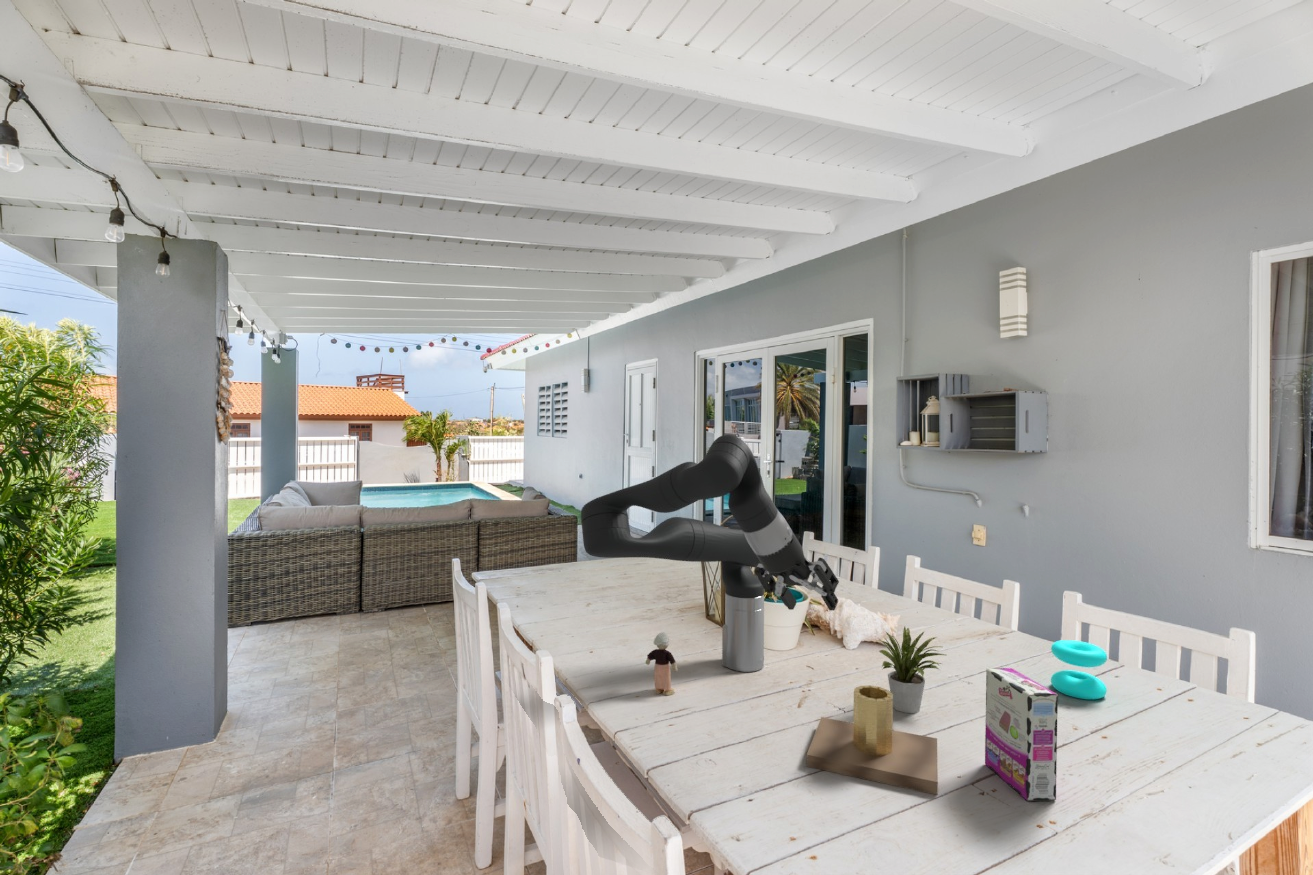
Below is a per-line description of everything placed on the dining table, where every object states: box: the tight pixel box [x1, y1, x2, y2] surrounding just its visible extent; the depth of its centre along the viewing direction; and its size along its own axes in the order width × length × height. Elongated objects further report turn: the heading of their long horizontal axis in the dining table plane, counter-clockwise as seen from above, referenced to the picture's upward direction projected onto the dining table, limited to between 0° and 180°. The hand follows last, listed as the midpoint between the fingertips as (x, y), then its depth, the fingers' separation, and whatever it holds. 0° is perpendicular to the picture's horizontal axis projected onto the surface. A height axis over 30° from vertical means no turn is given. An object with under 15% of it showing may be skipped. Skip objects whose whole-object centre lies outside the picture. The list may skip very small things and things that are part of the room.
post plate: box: [806, 716, 939, 796], centre depth 108 cm, size 20×15×9 cm
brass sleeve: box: [853, 685, 894, 756], centre depth 108 cm, size 6×6×9 cm
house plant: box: [875, 626, 946, 714], centre depth 126 cm, size 14×14×16 cm
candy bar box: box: [984, 667, 1059, 802], centre depth 101 cm, size 11×5×16 cm, turn 5°
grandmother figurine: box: [645, 632, 678, 696], centre depth 135 cm, size 8×4×13 cm, turn 71°
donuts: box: [1050, 639, 1108, 700], centre depth 135 cm, size 10×10×10 cm
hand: (813, 606), depth 113 cm, fingers open, 8 cm apart
